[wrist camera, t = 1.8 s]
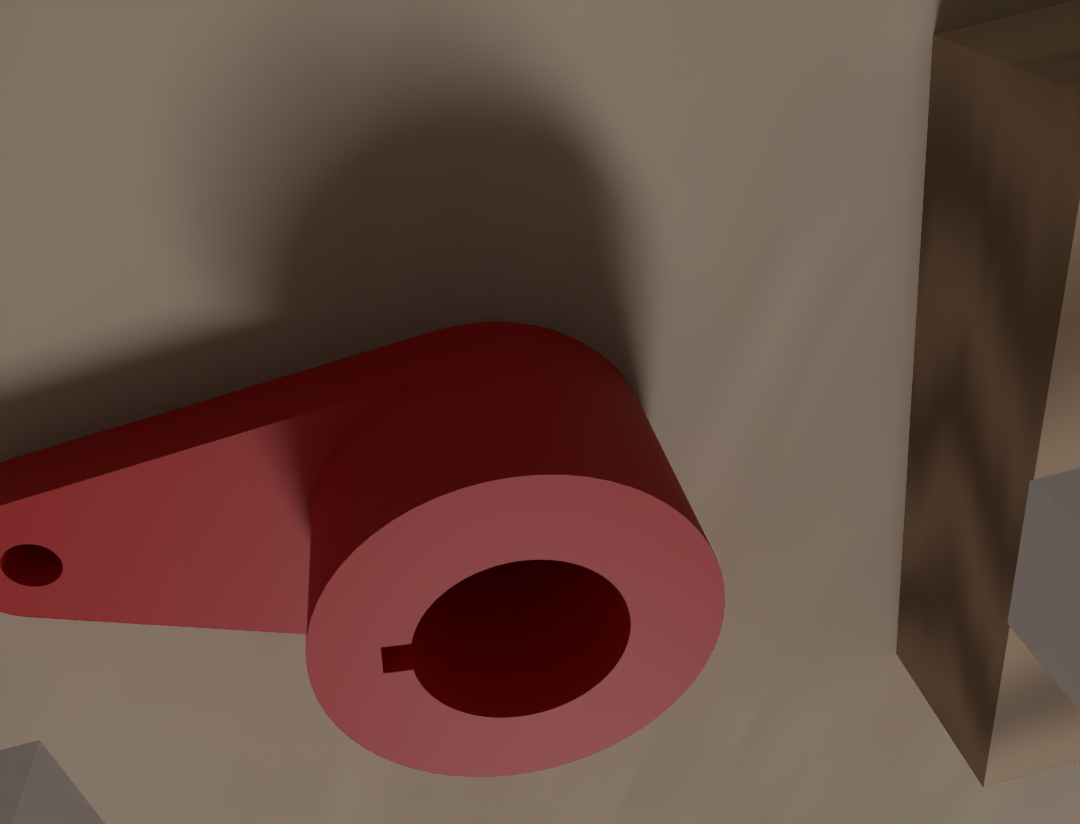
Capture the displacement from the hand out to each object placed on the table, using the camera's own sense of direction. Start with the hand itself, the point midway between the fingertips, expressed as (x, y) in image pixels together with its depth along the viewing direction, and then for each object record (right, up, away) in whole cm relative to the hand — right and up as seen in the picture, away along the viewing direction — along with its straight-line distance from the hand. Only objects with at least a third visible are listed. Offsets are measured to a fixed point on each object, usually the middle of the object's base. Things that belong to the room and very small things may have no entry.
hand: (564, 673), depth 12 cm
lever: (-6, +2, +13) cm, 15 cm away
